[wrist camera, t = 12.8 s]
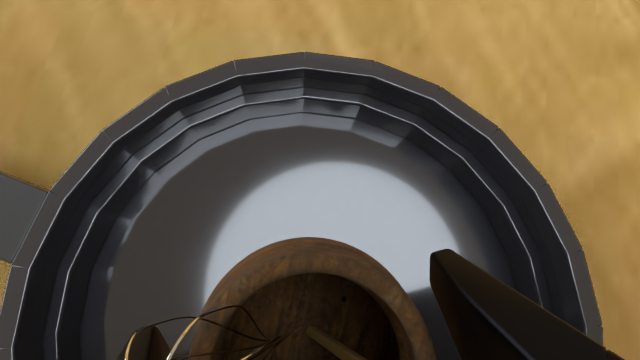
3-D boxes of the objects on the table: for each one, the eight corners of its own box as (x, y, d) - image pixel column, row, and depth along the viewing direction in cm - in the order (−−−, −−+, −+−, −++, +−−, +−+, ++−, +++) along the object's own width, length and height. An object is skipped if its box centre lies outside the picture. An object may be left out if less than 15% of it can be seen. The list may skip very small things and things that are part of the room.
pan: (263, 727, 14) (253, 880, 10) (-41, 285, 16) (-134, 292, 12) (633, 354, 17) (721, 378, 13) (339, 13, 18) (350, -44, 15)
